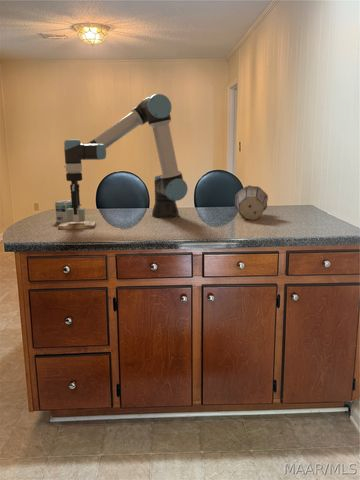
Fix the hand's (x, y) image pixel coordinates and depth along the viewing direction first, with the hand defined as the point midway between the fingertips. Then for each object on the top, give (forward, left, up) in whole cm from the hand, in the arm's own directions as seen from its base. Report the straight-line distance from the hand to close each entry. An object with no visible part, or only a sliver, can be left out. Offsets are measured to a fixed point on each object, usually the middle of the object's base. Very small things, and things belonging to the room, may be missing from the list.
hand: (76, 219), depth 204 cm
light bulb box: (+8, -18, -4) cm, 20 cm away
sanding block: (0, 0, 0) cm, 1 cm away
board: (0, 0, -3) cm, 3 cm away
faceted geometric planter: (-93, -16, -4) cm, 95 cm away
